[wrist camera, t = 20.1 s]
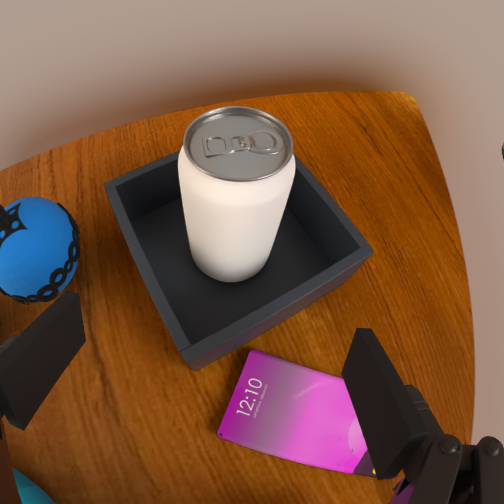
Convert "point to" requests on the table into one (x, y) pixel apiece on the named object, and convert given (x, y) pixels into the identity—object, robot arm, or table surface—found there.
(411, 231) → the table surface
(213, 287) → the tray
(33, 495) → the decorative orb
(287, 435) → the smartphone
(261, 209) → the can
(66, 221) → the ornament
